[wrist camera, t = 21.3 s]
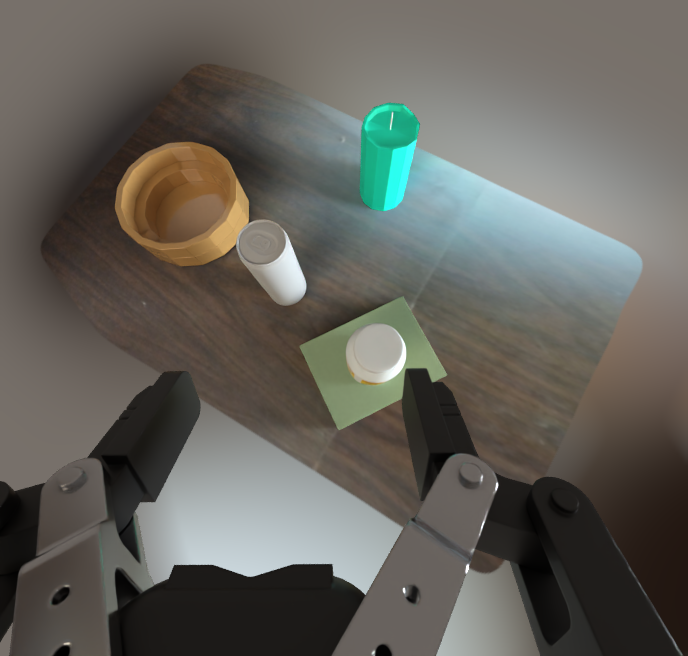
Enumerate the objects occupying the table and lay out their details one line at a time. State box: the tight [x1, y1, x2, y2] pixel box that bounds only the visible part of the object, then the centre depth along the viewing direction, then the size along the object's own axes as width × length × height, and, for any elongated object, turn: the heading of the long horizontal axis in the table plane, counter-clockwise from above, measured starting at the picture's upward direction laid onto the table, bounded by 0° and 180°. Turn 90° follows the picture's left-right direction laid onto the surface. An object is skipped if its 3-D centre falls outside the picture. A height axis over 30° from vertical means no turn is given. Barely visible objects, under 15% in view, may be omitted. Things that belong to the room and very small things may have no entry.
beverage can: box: [236, 219, 306, 306], centre depth 34 cm, size 5×5×12 cm
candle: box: [360, 103, 420, 211], centre depth 37 cm, size 6×6×12 cm
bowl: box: [115, 142, 249, 266], centre depth 40 cm, size 15×15×5 cm
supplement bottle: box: [346, 323, 406, 386], centre depth 30 cm, size 5×5×10 cm
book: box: [300, 296, 447, 430], centre depth 36 cm, size 13×10×3 cm
